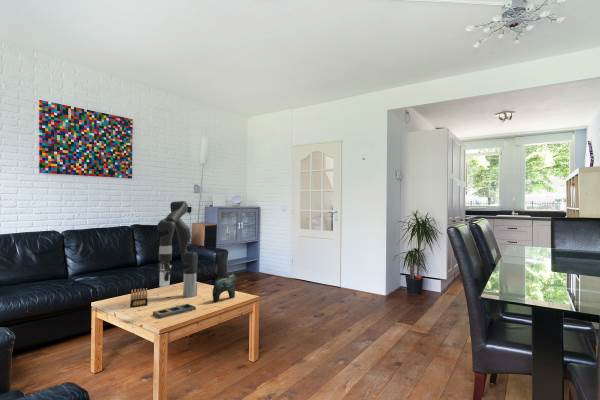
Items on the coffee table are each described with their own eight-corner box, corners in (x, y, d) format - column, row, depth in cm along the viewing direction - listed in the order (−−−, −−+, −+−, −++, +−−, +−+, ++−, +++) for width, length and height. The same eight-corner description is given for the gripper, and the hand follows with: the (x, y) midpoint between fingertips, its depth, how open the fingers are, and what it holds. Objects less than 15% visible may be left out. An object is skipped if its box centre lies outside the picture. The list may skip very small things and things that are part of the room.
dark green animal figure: (232, 296, 255) (233, 270, 255) (238, 297, 251) (238, 271, 251) (210, 301, 239) (211, 273, 240) (216, 303, 235) (217, 275, 236)
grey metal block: (165, 285, 211) (166, 270, 212) (169, 286, 209) (170, 271, 209) (159, 286, 208) (159, 271, 208) (162, 287, 205) (163, 272, 206)
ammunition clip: (130, 307, 221) (130, 289, 222) (129, 307, 223) (130, 289, 223) (147, 305, 227) (148, 287, 228) (147, 304, 229) (147, 287, 229)
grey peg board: (187, 306, 226) (187, 303, 226) (195, 309, 220) (195, 306, 220) (152, 314, 208) (152, 311, 208) (160, 318, 202) (160, 314, 202)
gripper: (177, 253, 207) (176, 281, 207) (165, 251, 217) (164, 277, 216) (165, 254, 202) (164, 282, 201) (154, 252, 211) (153, 279, 210)
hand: (164, 280), depth 209 cm, fingers closed on grey metal block, 4 cm apart
